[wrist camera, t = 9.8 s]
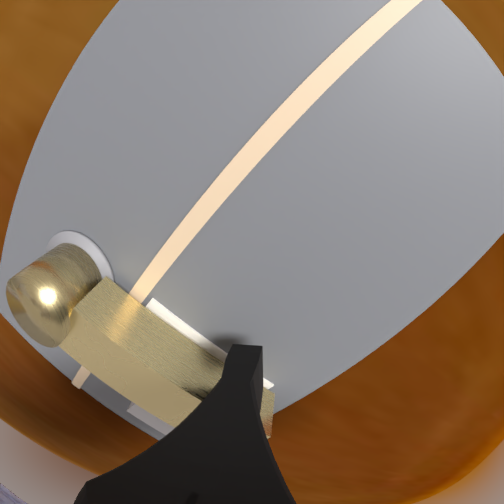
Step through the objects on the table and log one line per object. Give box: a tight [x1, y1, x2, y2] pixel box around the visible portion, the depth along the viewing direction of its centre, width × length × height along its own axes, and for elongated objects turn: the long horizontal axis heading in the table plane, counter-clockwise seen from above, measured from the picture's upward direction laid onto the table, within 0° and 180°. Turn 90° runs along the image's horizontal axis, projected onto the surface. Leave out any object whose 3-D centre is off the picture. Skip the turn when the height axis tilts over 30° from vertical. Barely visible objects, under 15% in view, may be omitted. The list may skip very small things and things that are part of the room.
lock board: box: [0, 0, 504, 440], centre depth 9 cm, size 15×24×3 cm, turn 139°
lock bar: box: [6, 243, 275, 439], centre depth 10 cm, size 11×3×3 cm, turn 51°
